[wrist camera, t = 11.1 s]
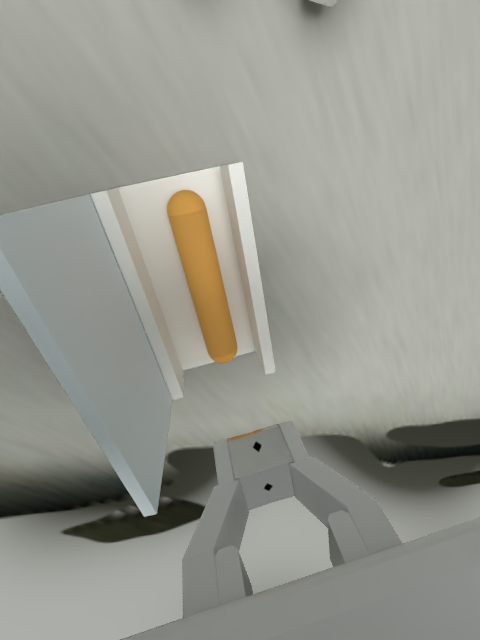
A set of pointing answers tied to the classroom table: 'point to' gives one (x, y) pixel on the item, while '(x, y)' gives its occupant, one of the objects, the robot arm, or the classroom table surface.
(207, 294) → the rod
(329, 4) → the cable organizer
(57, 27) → the classroom table surface
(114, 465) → the cover
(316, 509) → the robot arm
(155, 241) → the duct
